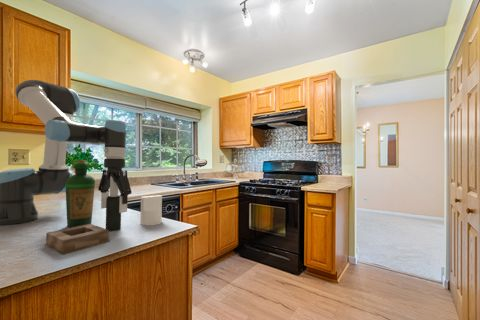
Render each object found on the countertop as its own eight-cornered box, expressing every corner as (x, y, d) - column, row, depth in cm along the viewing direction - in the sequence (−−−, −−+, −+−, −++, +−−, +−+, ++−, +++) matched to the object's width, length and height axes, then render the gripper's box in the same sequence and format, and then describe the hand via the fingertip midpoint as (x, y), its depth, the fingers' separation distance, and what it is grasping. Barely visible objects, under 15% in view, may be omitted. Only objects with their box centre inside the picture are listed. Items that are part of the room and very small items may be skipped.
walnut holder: (44, 245, 73) (45, 232, 73) (90, 234, 84) (90, 223, 84) (62, 254, 66) (62, 241, 66) (109, 241, 77) (109, 229, 77)
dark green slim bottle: (105, 228, 92) (106, 167, 92) (119, 226, 95) (120, 167, 95) (106, 231, 87) (108, 168, 88) (121, 229, 90) (122, 168, 91)
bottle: (78, 229, 89) (80, 160, 90) (57, 227, 91) (58, 159, 92) (100, 222, 100) (101, 160, 100) (80, 220, 102) (82, 159, 102)
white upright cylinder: (156, 219, 108) (157, 194, 108) (164, 222, 102) (165, 196, 102) (137, 222, 102) (137, 196, 102) (145, 226, 95) (145, 198, 95)
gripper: (89, 157, 95) (88, 207, 94) (123, 158, 82) (122, 216, 81) (107, 158, 101) (106, 204, 101) (141, 158, 88) (140, 212, 88)
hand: (113, 210), depth 91 cm, fingers open, 13 cm apart
